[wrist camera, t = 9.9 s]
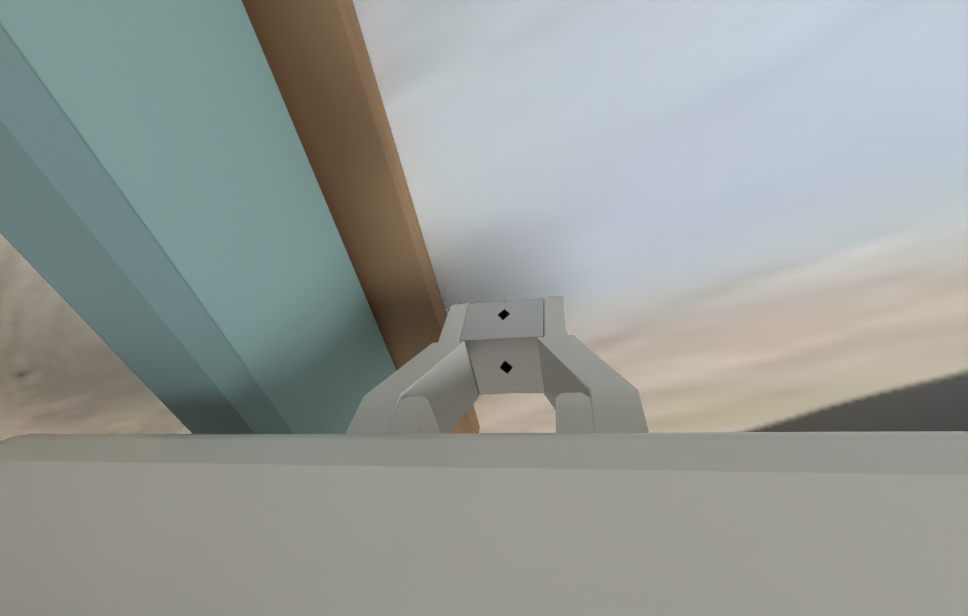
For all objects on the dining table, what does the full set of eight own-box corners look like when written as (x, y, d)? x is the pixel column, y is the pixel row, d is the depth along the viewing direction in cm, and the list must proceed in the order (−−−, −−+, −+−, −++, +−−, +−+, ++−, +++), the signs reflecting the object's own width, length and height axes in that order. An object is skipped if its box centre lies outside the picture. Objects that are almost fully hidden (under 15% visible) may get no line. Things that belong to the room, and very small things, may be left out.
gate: (20, -317, 7) (-1437, -1251, 2) (103, -363, 7) (-1473, -1724, 1) (369, 391, 18) (295, 544, 13) (410, 391, 18) (350, 548, 12)
